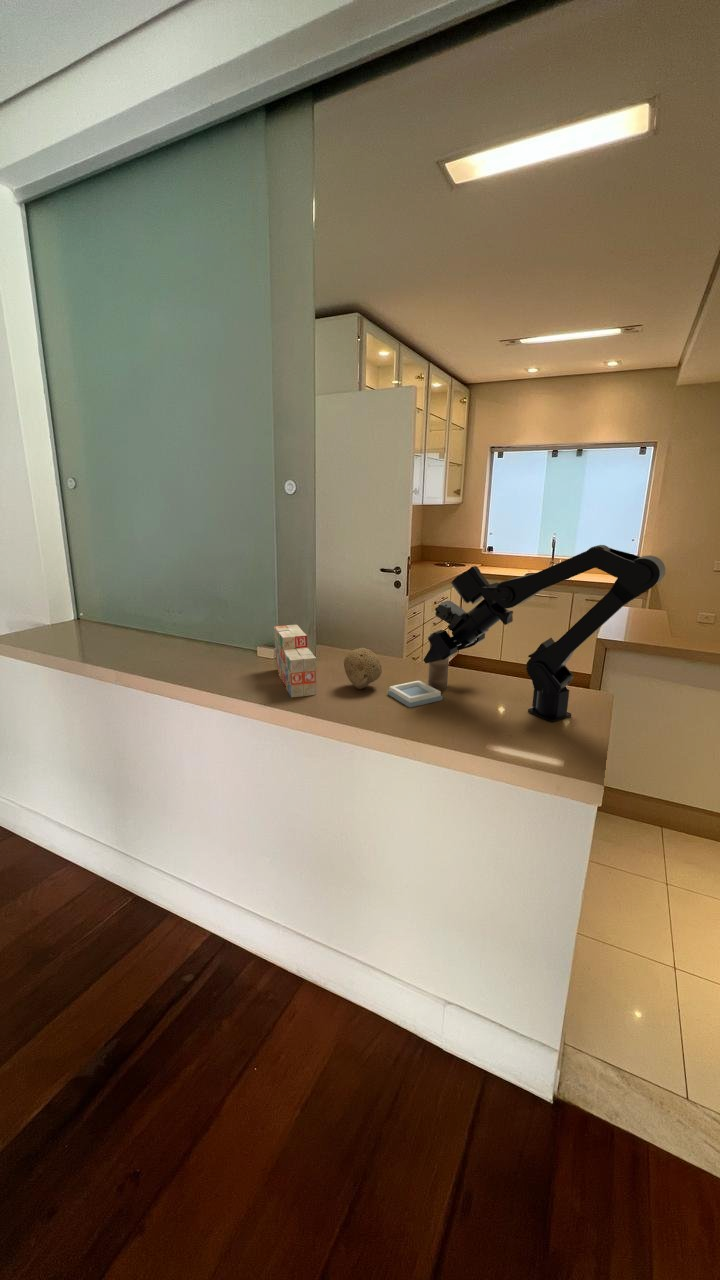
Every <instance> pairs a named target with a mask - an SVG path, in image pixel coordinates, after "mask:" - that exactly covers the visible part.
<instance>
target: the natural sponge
mask: <svg viewBox="0 0 720 1280" xmlns="http://www.w3.org/2000/svg"><path fill="white" fill-rule="evenodd" d="M343 667H344V672H345V674H346V677H347V679H348V680H349V682H350V683H351V684H352V685H353V686H354V687H355V688H356V689H358V690H361V689H365V688H366V687H368V685H369V684H372V683H374V682H376V681H377V680H379V679H380V677H381V675H382V672H383V668H382V667H383V666H382V663H381V662H380V659H379V657H378V656H377V654H375V652H373V651H372V650H370V649H368V648H365V647H360V648H354V649H352V650H351V651H349V652H348V653H347V655H346V656H344V660H343Z"/></svg>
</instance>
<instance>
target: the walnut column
mask: <svg viewBox="0 0 720 1280" xmlns="http://www.w3.org/2000/svg"><path fill="white" fill-rule="evenodd" d="M433 633H434V632H433ZM433 633H430V635H431V634H433ZM430 635H429V636H430ZM449 636H450V637H451V635H450V634H449ZM430 648H431V643H430V642H429V649H430ZM449 659H450V657H449V658H447V659H445V660H440V661H435V662H431V663H428V681H427V682H428V683H427V685H429V686H431V687H433V688H435V689H437V690H439V691H441V690H442V691H443V690H445V689H447V688H448V678H449Z"/></svg>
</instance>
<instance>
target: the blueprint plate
mask: <svg viewBox="0 0 720 1280" xmlns="http://www.w3.org/2000/svg"><path fill="white" fill-rule="evenodd" d="M441 693H442V692H441V690H437V689H435V688H433V687H431V686H429V685H428V683H425V682H424V681H421V680H415V681H409V682H405V683H401V684H395V685H391V686H389V689H388V690H387V696H390V697H392V698H393V699H395V700H396V701H398V702H400V703H402V704H403V705H405V706H406V707H408V708H414V707H418V706H423V705H427V704H432V703H435V702H436V703H437V702H439V701H442V700H443V695H441Z"/></svg>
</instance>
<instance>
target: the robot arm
mask: <svg viewBox="0 0 720 1280" xmlns="http://www.w3.org/2000/svg"><path fill="white" fill-rule="evenodd" d="M592 569H597V570H600V571H602V572H604V573H607V574H608V575H609V576H611V577H614V578H616V580H615V582H614V583H613V584H612V586H611V588H610V589H609V590H608V592H607V593H606V594H605V595H604V596H603V597H602V598H601V599H600V600H599V601H598V602H596V604H595V605H594V606H592V608H590V609H589V610H588V611H587V612H586V613H585V614H584V615H582V617H581V618H580V619H579V620H578V621H576V622H575V623H574V625H572V627H570V628H569V629H568V630H567V631H566V632H565V633H564V634H563V635H562V636H561V637H560V638H558V639H557V640H556V641H555V640H554V639H553V638H552V637H549V638H548V639H546V640H544V641H543V642H542V643H540V644H539V646H538V647H537V648H536V650H535V651H533V652H532V653H529V655H528V656H527V657H528V658H529V659H528V660H527V662H526V664H525V667H526V668H525V669H526V672H527V675H528V676H529V677H530V679H531V682H532V686H533V693H532V694H533V696H532V704H531V705H532V707H531V708H530V707H529V708H528V709H527V712H528V713H530V714H532V715H533V716H537V717H539V718H541V719H543V720H545V721H548V722H550V723H554V722H556V721H561V720H563V718H564V719H566V717H567V718H569V716H570V717H572V715H573V714H572V713H571V712H569V711H568V705H569V697H570V689H568V688H567V686H568V685H570V683H571V682H572V680H573V678H574V674H573V673H572V672H571V671H570V669H569V668H568V666H567V665H566V664H567V663H568V662H569V661H570V659H571V657H572V656H573V654H574V653H575V651H576V650H577V649H578V648H579V647H580V646H581V645H582V644H583V643H585V641H587V640H588V639H589V638H590V637H592V635H593V634H594V633H596V631H598V630H599V629H600V628H601V627H602V626H603V625H604V624H606V623H607V622H608V621H609V620H610V619H611V618H612V617H613V616H614V615H615V614H617V613H618V612H619V611H620V610H621V609H622V608H623V607H624V606H626V605H627V604H628V603H631V601H633V600H634V599H636V598H637V597H639V596H641V595H642V594H644V593H646V592H647V591H649V590H651V589H653V587H655V586H656V585H657V584H659V583H660V582H661V581H662V580H663V578H665V575H666V566H665V563H664V562H663V561H662V559H660V558H659V557H657V556H655V555H650V554H649V555H642V556H639V555H636V554H633V553H630V552H625V551H623V550H622V551H621V550H619V549H614V548H612V547H609V546H607V545H605V544H599V545H595V546H591V547H589V548H588V549H587V550H586V551H583V552H581V553H579V554H576V555H573V556H572V557H569V558H567V559H565V560H562V561H561V562H558V563H555V564H554V565H551V566H549V567H547V568H545V569H542V570H540V571H538V572H535V573H530V574H527V575H522V576H518V577H517V576H516V577H513V578H510V579H508V580H504V581H501V582H493V583H491V584H490V583H489V581H488V580H487V579H486V577H485V575H483V573H482V572H481V570H480V568H479V567H478V565H474V566H473V565H472V566H471V567H470V568H469V569H466V571H465V570H464V572H462V573H461V574H458V575H457V576H456V577H455V578H454V579H453V580H451V582H450V584H451V585H452V587H453V588H454V590H455V591H456V592H457V594H458V595H459V596H460V597H461V599H462V600H463V602H464V603H466V604H469V603H471V605H475V604H476V606H474V607H473V608H472V609H471V610H469V611H468V612H467V611H466V610H464V609H463V608H462V607H460V606H459V605H457V604H456V603H454V602H453V601H451V600H445V601H442V602H440V604H438V606H436V607H435V608H434V611H435V616H436V617H437V618H439V619H440V620H442V621H444V622H445V623H447V624H448V625H447V628H448V630H450V631H451V635H452V636H451V635H450V634H449V633H448V632H447V631H446V630H444V629H439V630H437V631H433V634H432V633H430V634H431V635H429V636H428V638H427V640H428V642H429V644H430V643H431V648H430V647H429V650H428V651H427V653H426V655H425V656H424V658H423V661H422V662H424V664H429V663H431V662H435V661H440V660H445V659H447V658H449V659H450V658H451V657H453V656H454V655H456V653H458V651H462V650H464V649H468V648H471V647H473V646H475V645H477V644H479V643H481V642H482V641H483V640H485V638H486V633H488V631H489V630H490V629H491V628H492V627H493V626H494V625H496V624H497V623H498V622H499V621H501V623H503V625H505V626H506V625H508V624H510V623H513V621H514V620H513V619H514V617H513V615H514V611H513V610H509V609H512V608H514V607H517V606H518V605H521V604H523V603H526V602H527V601H528V600H530V599H531V598H533V597H535V596H536V595H538V594H539V593H541V592H542V591H543V590H545V589H547V588H549V587H551V586H554V585H556V584H559V583H561V582H565V581H567V580H568V579H571V578H573V577H576V576H578V575H581V574H583V573H586V572H588V571H591V570H592ZM478 602H479V603H478ZM477 603H478V604H477ZM449 635H450V636H449Z"/></svg>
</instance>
